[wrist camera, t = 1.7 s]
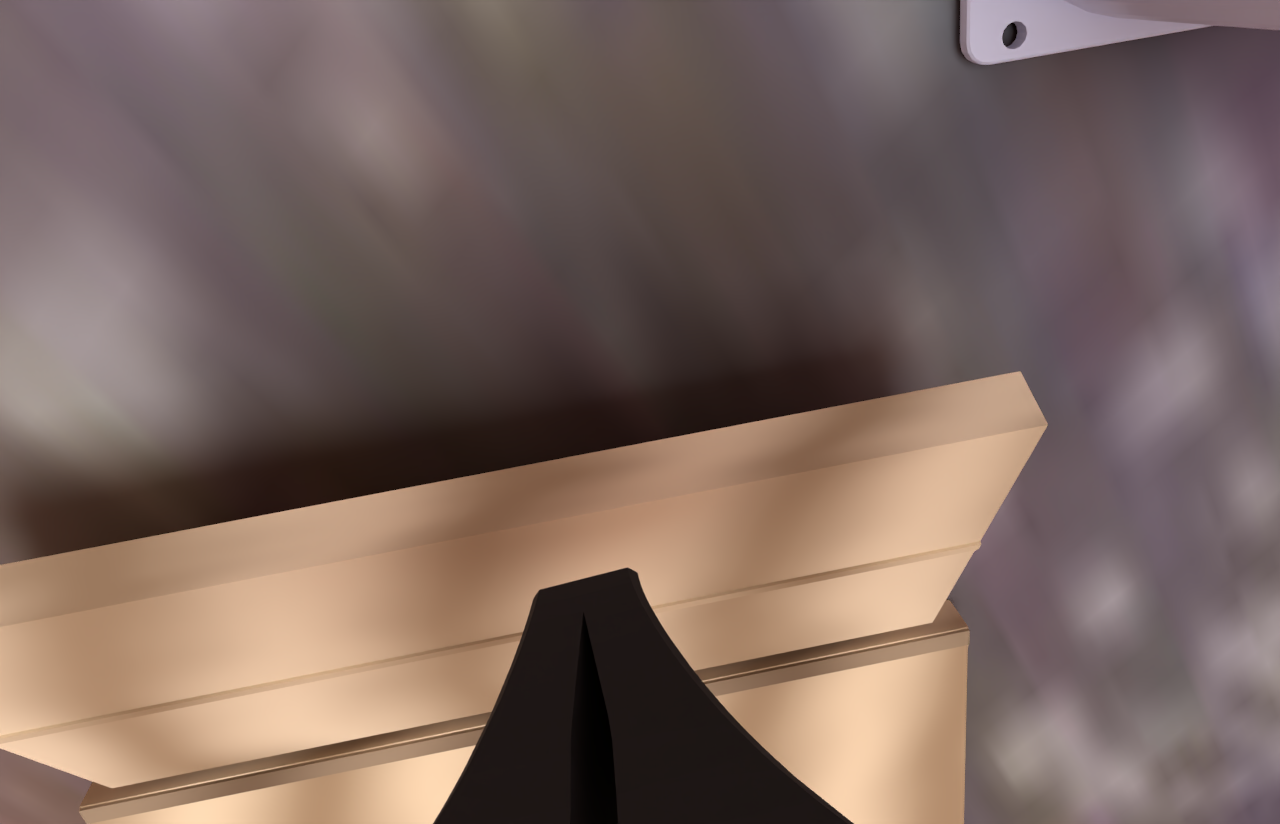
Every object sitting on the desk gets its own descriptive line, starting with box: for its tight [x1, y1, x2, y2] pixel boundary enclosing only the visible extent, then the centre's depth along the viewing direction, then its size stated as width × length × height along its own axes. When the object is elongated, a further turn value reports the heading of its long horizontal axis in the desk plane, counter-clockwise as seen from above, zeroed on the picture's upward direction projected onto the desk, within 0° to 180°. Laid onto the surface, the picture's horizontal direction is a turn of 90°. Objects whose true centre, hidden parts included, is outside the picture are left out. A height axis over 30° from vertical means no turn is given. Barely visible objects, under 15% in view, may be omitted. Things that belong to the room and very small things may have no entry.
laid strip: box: [79, 600, 970, 824], centre depth 26 cm, size 24×8×1 cm, turn 99°
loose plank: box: [0, 371, 1048, 788], centre depth 20 cm, size 22×10×1 cm
